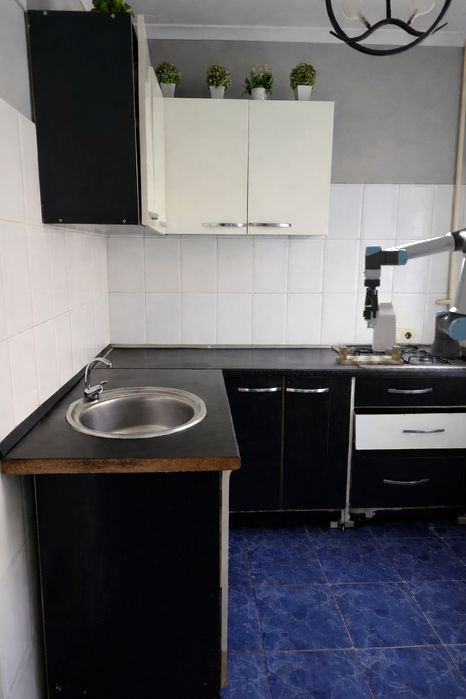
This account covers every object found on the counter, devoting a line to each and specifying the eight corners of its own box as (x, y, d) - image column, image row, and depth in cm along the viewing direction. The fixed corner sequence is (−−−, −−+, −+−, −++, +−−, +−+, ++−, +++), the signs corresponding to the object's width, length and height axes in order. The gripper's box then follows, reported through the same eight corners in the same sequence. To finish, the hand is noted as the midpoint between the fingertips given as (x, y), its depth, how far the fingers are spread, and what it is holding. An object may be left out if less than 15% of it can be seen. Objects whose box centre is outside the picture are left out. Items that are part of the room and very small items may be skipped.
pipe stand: (396, 358, 259) (397, 343, 257) (403, 363, 247) (404, 348, 245) (336, 358, 260) (337, 344, 258) (340, 364, 248) (341, 349, 247)
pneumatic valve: (379, 326, 254) (380, 302, 251) (372, 330, 244) (373, 305, 241) (368, 325, 257) (368, 301, 254) (361, 329, 247) (361, 304, 244)
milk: (372, 351, 277) (374, 303, 272) (371, 347, 288) (373, 300, 283) (396, 351, 274) (398, 303, 269) (394, 347, 285) (396, 301, 280)
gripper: (359, 276, 257) (358, 319, 262) (369, 280, 233) (368, 326, 238) (374, 276, 257) (372, 319, 261) (386, 280, 233) (384, 326, 237)
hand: (370, 322), depth 250 cm, fingers closed on pneumatic valve, 12 cm apart
